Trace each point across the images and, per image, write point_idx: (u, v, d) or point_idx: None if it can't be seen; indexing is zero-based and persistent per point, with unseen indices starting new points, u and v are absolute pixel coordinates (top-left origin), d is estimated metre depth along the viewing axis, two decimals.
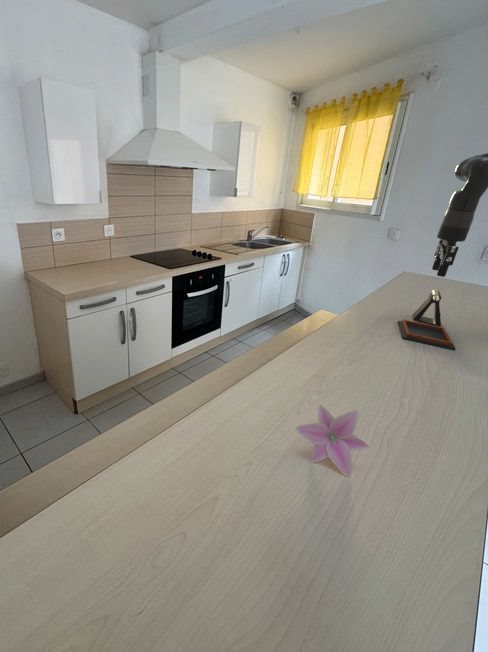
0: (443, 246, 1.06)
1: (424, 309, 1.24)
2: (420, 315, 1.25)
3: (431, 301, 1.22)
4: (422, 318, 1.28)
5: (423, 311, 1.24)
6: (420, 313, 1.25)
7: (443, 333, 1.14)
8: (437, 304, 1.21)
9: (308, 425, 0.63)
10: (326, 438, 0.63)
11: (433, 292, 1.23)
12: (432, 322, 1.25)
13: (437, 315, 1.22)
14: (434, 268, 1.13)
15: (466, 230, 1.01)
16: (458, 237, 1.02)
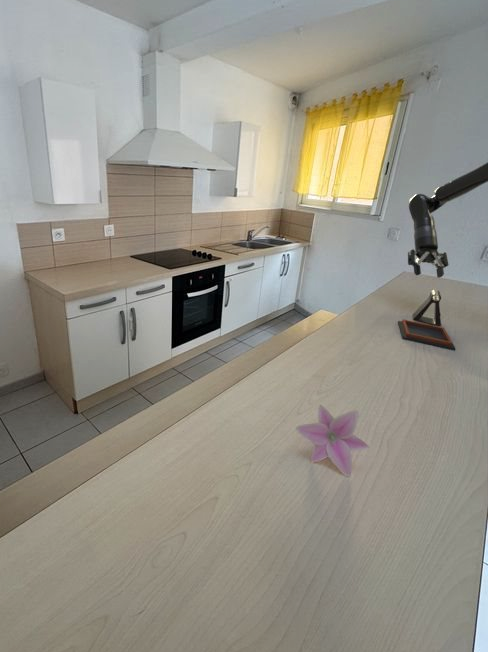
0: None
1: (424, 309, 1.24)
2: (420, 315, 1.25)
3: (431, 301, 1.22)
4: (422, 318, 1.28)
5: (423, 311, 1.24)
6: (420, 313, 1.25)
7: (443, 333, 1.14)
8: (437, 304, 1.21)
9: (308, 425, 0.63)
10: (326, 438, 0.63)
11: (433, 292, 1.23)
12: (432, 322, 1.25)
13: (437, 315, 1.22)
14: (438, 275, 1.29)
15: (423, 238, 1.30)
16: (418, 244, 1.31)
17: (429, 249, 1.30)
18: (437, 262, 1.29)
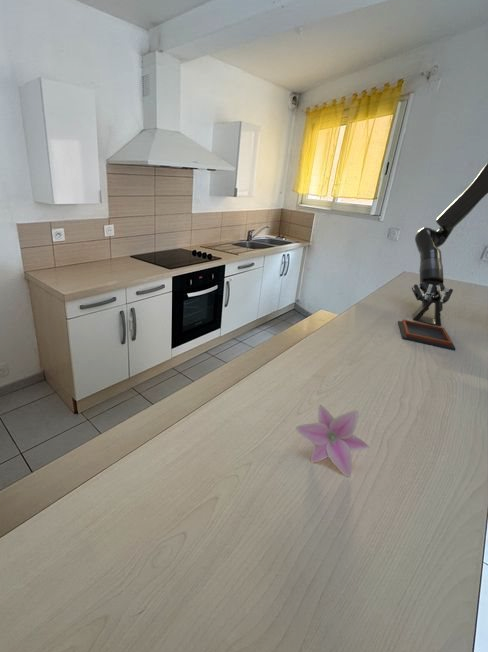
0: None
1: (424, 309, 1.24)
2: (420, 315, 1.25)
3: (431, 301, 1.22)
4: (422, 318, 1.28)
5: (423, 311, 1.24)
6: (420, 313, 1.25)
7: (443, 333, 1.14)
8: (437, 304, 1.21)
9: (308, 425, 0.63)
10: (326, 438, 0.63)
11: (433, 292, 1.23)
12: (432, 322, 1.25)
13: (437, 315, 1.22)
14: None
15: (426, 270, 1.27)
16: (422, 277, 1.28)
17: (434, 281, 1.27)
18: (437, 296, 1.24)
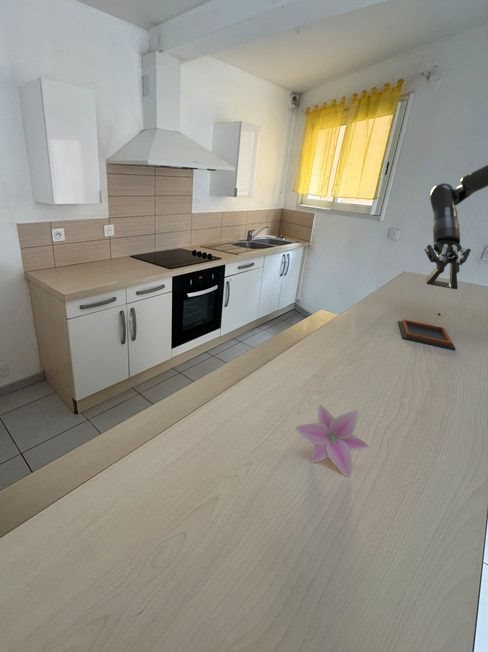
0: None
1: (439, 271, 1.13)
2: (434, 278, 1.14)
3: (447, 261, 1.11)
4: (436, 282, 1.17)
5: (438, 273, 1.13)
6: (434, 276, 1.14)
7: (443, 333, 1.14)
8: (453, 264, 1.10)
9: (308, 425, 0.63)
10: (326, 438, 0.63)
11: (449, 252, 1.12)
12: (447, 285, 1.14)
13: (453, 277, 1.11)
14: None
15: (441, 229, 1.16)
16: (436, 237, 1.17)
17: (449, 241, 1.15)
18: (454, 256, 1.13)
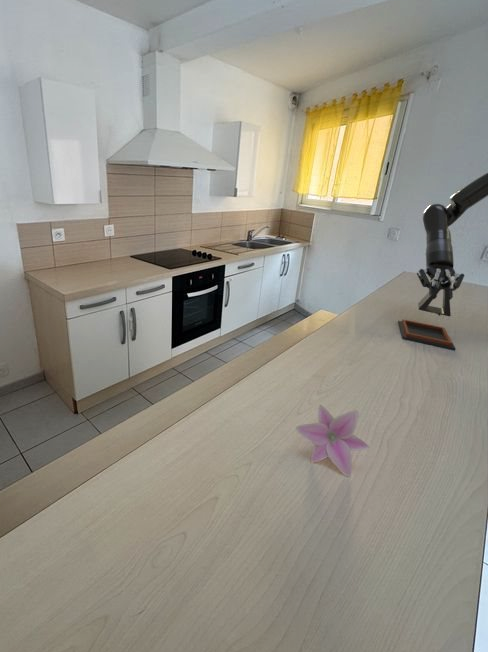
0: None
1: (431, 297, 1.08)
2: (427, 304, 1.09)
3: (439, 287, 1.06)
4: (429, 307, 1.12)
5: (430, 299, 1.08)
6: (427, 302, 1.09)
7: (443, 333, 1.14)
8: (446, 291, 1.05)
9: (308, 425, 0.63)
10: (326, 438, 0.63)
11: (442, 277, 1.07)
12: (440, 312, 1.09)
13: (446, 304, 1.06)
14: None
15: (434, 253, 1.12)
16: (429, 260, 1.12)
17: (442, 265, 1.11)
18: None
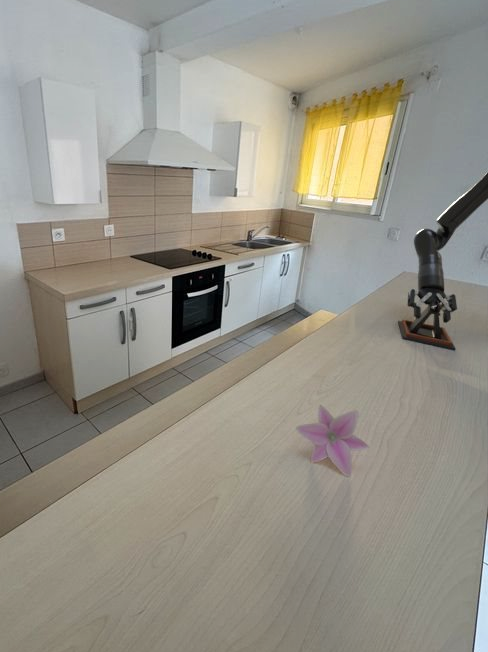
0: None
1: (422, 321, 1.12)
2: (418, 327, 1.13)
3: (430, 312, 1.10)
4: (420, 330, 1.16)
5: (421, 323, 1.12)
6: (418, 325, 1.13)
7: (443, 333, 1.14)
8: (436, 315, 1.09)
9: (308, 425, 0.63)
10: (326, 438, 0.63)
11: (432, 302, 1.11)
12: (431, 335, 1.13)
13: (436, 328, 1.10)
14: (444, 320, 1.11)
15: (425, 277, 1.15)
16: (420, 284, 1.16)
17: (433, 289, 1.14)
18: (443, 305, 1.12)
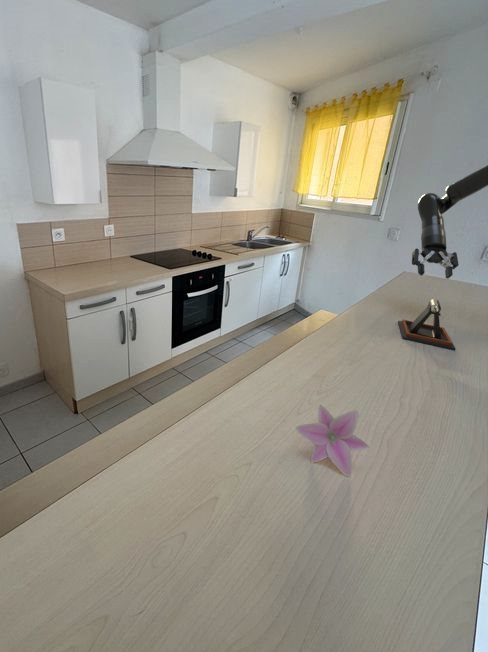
0: None
1: (422, 321, 1.12)
2: (418, 327, 1.13)
3: (430, 312, 1.10)
4: (420, 330, 1.16)
5: (421, 323, 1.12)
6: (418, 325, 1.13)
7: (443, 333, 1.14)
8: (436, 315, 1.09)
9: (308, 425, 0.63)
10: (326, 438, 0.63)
11: (432, 302, 1.11)
12: (431, 335, 1.13)
13: (436, 328, 1.10)
14: (446, 276, 1.18)
15: (428, 237, 1.22)
16: (424, 244, 1.23)
17: (436, 248, 1.21)
18: (445, 262, 1.19)
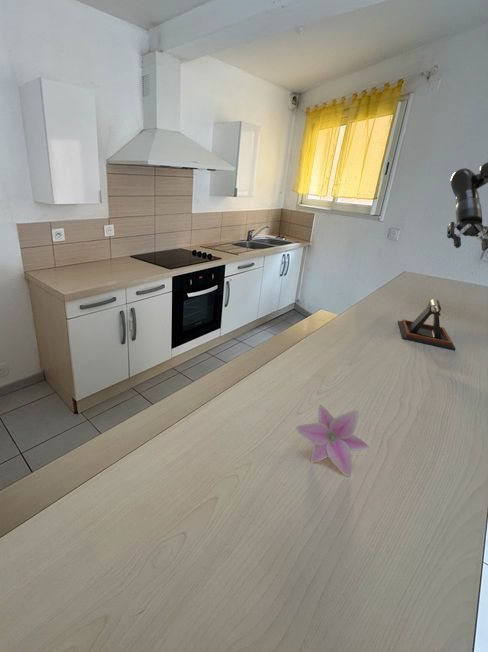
0: None
1: (422, 321, 1.12)
2: (418, 327, 1.13)
3: (430, 312, 1.10)
4: (420, 330, 1.16)
5: (421, 323, 1.12)
6: (418, 325, 1.13)
7: (443, 333, 1.14)
8: (436, 315, 1.09)
9: (308, 425, 0.63)
10: (326, 438, 0.63)
11: (432, 302, 1.11)
12: (431, 335, 1.13)
13: (436, 328, 1.10)
14: (483, 248, 1.19)
15: (464, 210, 1.23)
16: (459, 217, 1.24)
17: (472, 221, 1.22)
18: (481, 234, 1.20)
